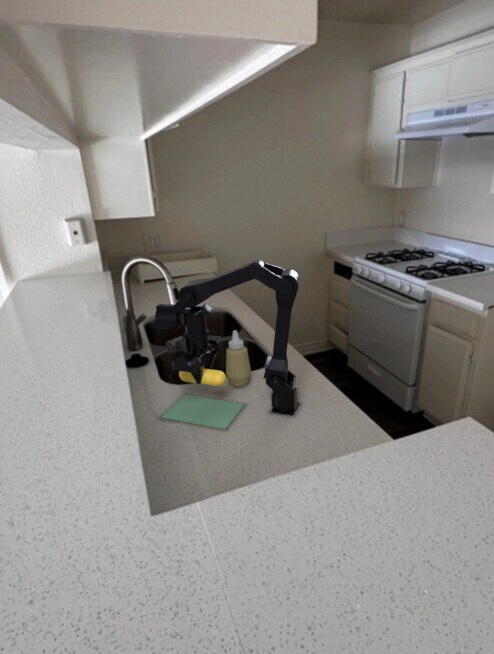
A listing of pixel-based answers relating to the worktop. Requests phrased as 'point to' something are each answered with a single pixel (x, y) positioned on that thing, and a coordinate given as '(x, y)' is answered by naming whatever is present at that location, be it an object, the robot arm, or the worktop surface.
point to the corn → (205, 377)
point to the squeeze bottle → (237, 362)
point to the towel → (204, 411)
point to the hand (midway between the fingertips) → (202, 379)
